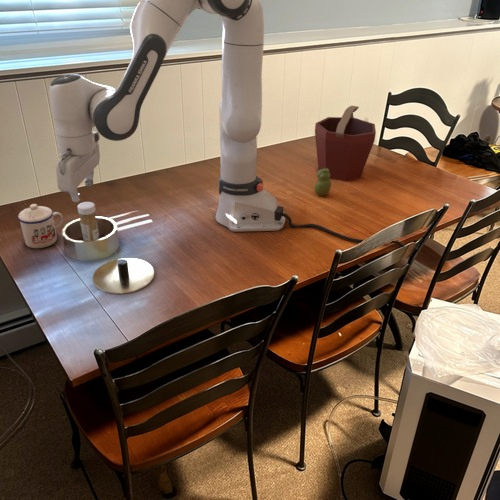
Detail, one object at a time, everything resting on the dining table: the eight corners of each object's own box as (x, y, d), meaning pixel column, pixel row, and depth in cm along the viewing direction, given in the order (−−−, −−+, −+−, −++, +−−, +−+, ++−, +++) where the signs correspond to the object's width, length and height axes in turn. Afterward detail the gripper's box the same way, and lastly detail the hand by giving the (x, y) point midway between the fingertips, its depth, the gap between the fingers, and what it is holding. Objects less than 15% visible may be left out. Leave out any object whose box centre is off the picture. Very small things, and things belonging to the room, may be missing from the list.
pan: (125, 237, 145) (123, 218, 141) (109, 264, 132) (107, 244, 129) (77, 233, 146) (74, 214, 142) (57, 260, 133) (53, 240, 130)
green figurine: (321, 199, 170) (325, 173, 165) (310, 194, 174) (313, 168, 168) (332, 195, 174) (335, 169, 168) (321, 190, 177) (324, 164, 172)
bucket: (331, 156, 206) (339, 96, 192) (380, 169, 195) (392, 107, 182) (301, 174, 189) (307, 110, 175) (353, 190, 178) (364, 122, 165)
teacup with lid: (34, 253, 136) (25, 216, 130) (18, 240, 141) (9, 204, 135) (73, 237, 143) (66, 202, 137) (57, 226, 149) (50, 192, 142)
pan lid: (160, 263, 134) (159, 247, 131) (145, 298, 120) (144, 281, 118) (104, 259, 134) (102, 243, 132) (84, 293, 121) (81, 277, 118)
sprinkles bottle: (103, 248, 138) (97, 206, 131) (87, 253, 136) (80, 210, 129) (98, 241, 141) (91, 199, 134) (82, 245, 139) (74, 203, 132)
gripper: (71, 158, 113) (80, 211, 121) (101, 130, 131) (107, 178, 138) (45, 157, 114) (55, 209, 121) (78, 129, 131) (85, 176, 138)
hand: (83, 192), depth 130 cm, fingers open, 8 cm apart
